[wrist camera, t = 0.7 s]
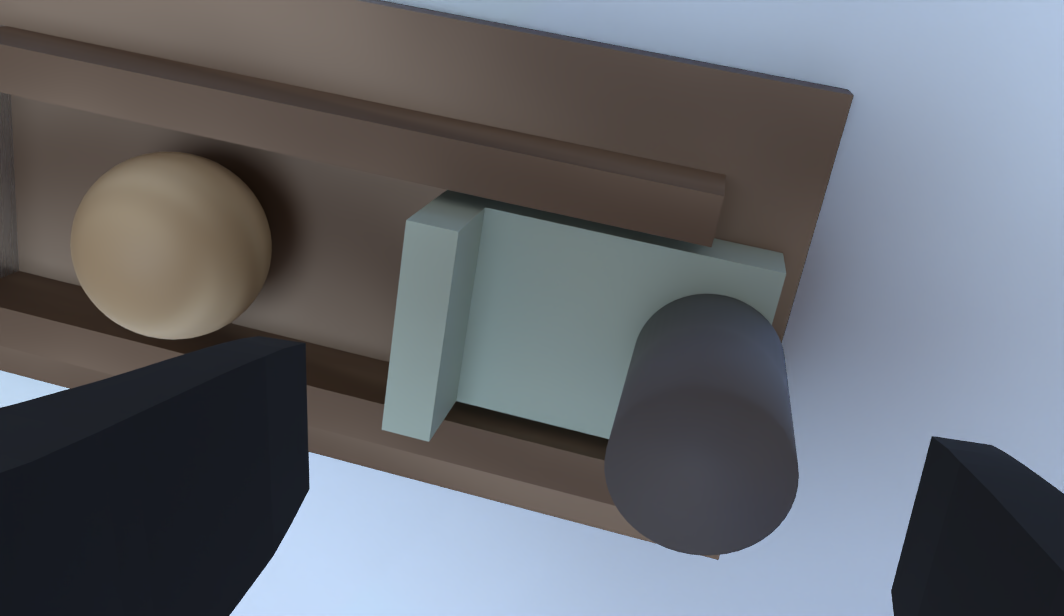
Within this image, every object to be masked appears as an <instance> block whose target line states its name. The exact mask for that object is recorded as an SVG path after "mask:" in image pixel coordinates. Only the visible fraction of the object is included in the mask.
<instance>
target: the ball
mask: <svg viewBox="0 0 1064 616" xmlns="http://www.w3.org/2000/svg"><path fill="white" fill-rule="evenodd" d="M70 248H71V257H72V262H73V266H74V269H75V272H76V275H77V278H78V280H79V282H80V284H81V286H82V288H83V290H84V291H85V293H86V294H87V296H88V297H89V298H90V300H91V301H92V302H93V303H94V304H95V306H96V307H97V308H98V309H99V310H100V311H101V312H102V313H104V314H105V315H106V316H107V317H108V318H110V319H111V320H112V321H114V322H115V323H117V324H119V325H120V326H122V327H124V328H126V329H129V330H131V331H133V332H135V333H138V334H141V335H144V336H148V337H154V338H160V339H172V340H174V339H187V338H194V337H198V336H202V335H206V334H209V333H211V332H214V331H216V330H219V329H220V328H222V327H224V326H226V325H227V324H229V323H231V322H233V321H234V320H235V319H236V318H237V317H239V316H240V315H241V314H242V313H243V312H245V311H246V310H247V309H248V307H249V306H250V305H251V304H252V303H253V301H254V300H255V299H256V297H257V296H258V294H259V292H260V291H261V289H262V287H263V285H264V283H265V280H266V278H267V275H268V272H269V268H270V263H271V256H272V240H271V232H270V228H269V224H268V220H267V217H266V215H265V212H264V210H263V208H262V206H261V204H260V202H259V201H258V199H257V198H256V196H255V195H254V193H253V192H252V191H251V189H250V188H249V187H248V186H247V185H246V184H245V183H244V182H243V181H242V180H241V179H240V178H239V177H238V176H236V175H235V174H234V173H232V172H231V171H230V170H228V169H227V168H225V167H223V166H222V165H220V164H218V163H216V162H214V161H212V160H210V159H207V158H204V157H200V156H197V155H194V154H190V153H183V152H155V153H149V154H143V155H140V156H137V157H133V158H131V159H128V160H126V161H124V162H122V163H120V164H118V165H116V166H114V167H113V168H112V169H110V170H109V171H108V172H106V173H105V174H103V175H102V176H101V177H100V178H99V179H98V180H97V181H96V182H95V183H94V184H93V185H92V186H91V187H90V189H89V190H88V191H87V193H86V194H85V195H84V197H83V199H82V201H81V203H80V205H79V207H78V209H77V211H76V214H75V217H74V220H73V225H72V231H71V240H70Z"/></svg>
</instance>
